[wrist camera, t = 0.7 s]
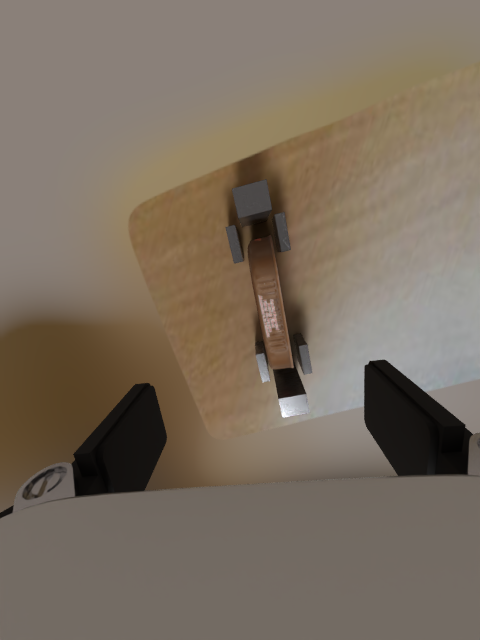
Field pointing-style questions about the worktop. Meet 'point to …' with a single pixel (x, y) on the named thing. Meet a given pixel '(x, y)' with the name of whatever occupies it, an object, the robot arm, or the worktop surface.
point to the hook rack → (257, 209)
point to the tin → (270, 302)
